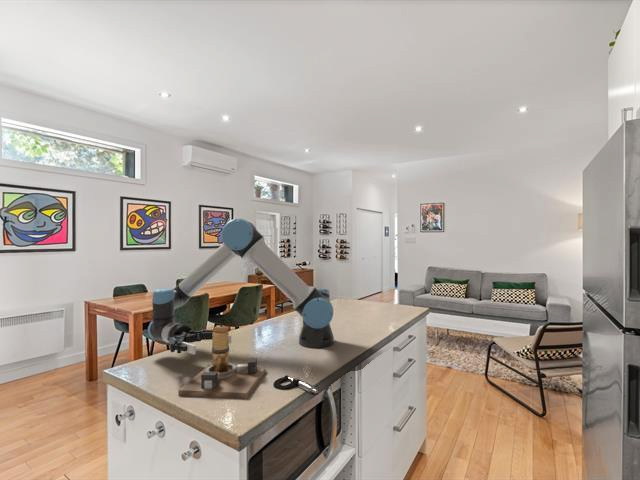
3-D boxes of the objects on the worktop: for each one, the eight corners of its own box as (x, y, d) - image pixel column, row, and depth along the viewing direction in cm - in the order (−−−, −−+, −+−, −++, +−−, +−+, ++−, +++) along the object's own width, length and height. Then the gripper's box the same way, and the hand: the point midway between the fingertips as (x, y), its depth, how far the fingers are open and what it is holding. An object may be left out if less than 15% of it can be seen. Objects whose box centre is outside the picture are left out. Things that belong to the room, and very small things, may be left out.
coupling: (231, 370, 107) (231, 325, 107) (225, 376, 102) (225, 329, 102) (216, 369, 108) (216, 325, 108) (209, 375, 102) (208, 329, 103)
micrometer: (268, 385, 99) (268, 377, 99) (287, 378, 104) (287, 370, 104) (299, 402, 88) (299, 393, 88) (319, 394, 93) (319, 385, 93)
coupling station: (265, 371, 109) (265, 355, 109) (246, 398, 90) (246, 379, 90) (208, 369, 111) (208, 354, 111) (178, 395, 93) (178, 376, 93)
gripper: (207, 336, 129) (243, 346, 116) (142, 354, 109) (177, 367, 96) (207, 317, 129) (243, 324, 117) (142, 331, 109) (177, 342, 96)
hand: (213, 344), depth 106 cm, fingers open, 13 cm apart
